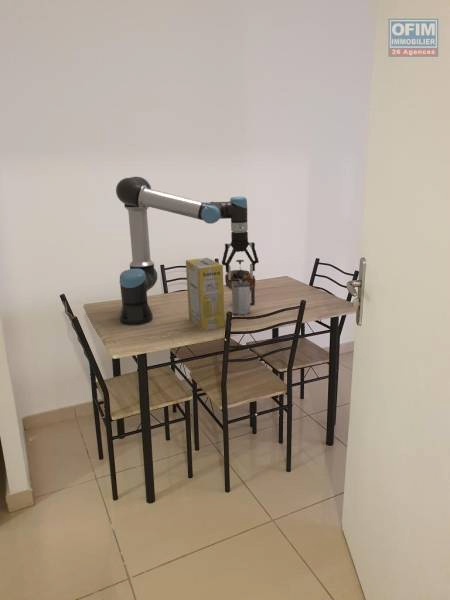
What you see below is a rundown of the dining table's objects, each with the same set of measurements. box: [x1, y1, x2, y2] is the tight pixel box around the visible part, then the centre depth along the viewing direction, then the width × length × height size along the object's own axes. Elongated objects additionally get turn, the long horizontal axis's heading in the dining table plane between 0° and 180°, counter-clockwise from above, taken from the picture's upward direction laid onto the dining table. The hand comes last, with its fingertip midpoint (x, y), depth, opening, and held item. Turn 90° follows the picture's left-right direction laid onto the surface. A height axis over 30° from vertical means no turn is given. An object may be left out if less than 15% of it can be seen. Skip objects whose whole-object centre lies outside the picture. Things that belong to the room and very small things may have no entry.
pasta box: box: [185, 257, 226, 332], centre depth 209 cm, size 18×10×28 cm, turn 23°
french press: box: [231, 259, 250, 282], centre depth 235 cm, size 12×9×23 cm
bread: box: [224, 269, 256, 292], centre depth 266 cm, size 19×11×10 cm, turn 26°
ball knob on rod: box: [236, 269, 245, 284], centre depth 220 cm, size 4×4×15 cm
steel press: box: [231, 280, 256, 317], centre depth 223 cm, size 11×8×15 cm
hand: (240, 278), depth 220 cm, fingers open, 10 cm apart
